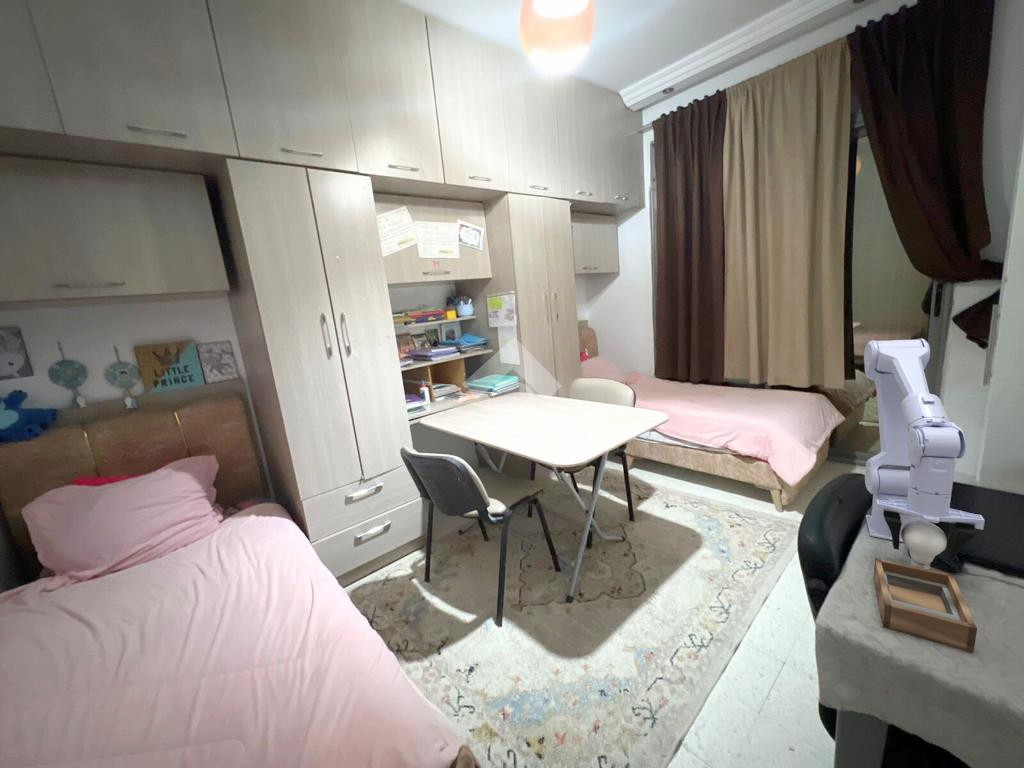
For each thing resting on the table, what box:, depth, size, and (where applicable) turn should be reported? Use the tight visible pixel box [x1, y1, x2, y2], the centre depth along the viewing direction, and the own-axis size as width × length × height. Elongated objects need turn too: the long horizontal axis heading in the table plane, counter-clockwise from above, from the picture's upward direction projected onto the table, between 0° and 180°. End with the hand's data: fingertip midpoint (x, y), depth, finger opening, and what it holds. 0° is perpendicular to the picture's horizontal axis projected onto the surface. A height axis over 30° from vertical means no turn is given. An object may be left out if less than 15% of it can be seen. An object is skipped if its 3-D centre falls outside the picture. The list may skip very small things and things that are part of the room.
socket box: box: [872, 557, 978, 654], centre depth 73 cm, size 14×11×4 cm
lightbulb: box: [901, 519, 948, 570], centre depth 81 cm, size 6×6×11 cm
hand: (922, 551), depth 81 cm, fingers open, 7 cm apart
